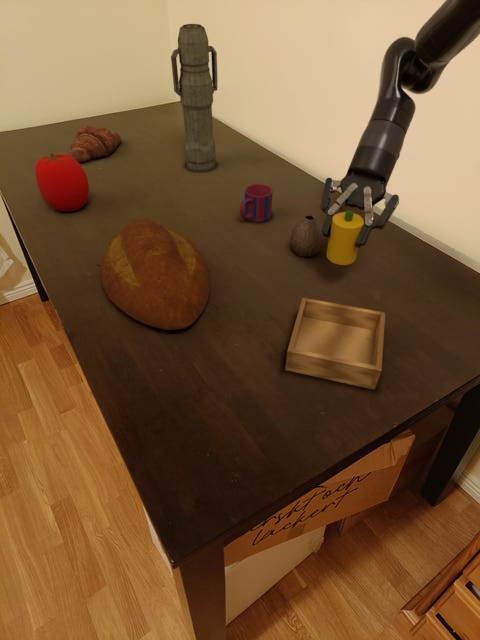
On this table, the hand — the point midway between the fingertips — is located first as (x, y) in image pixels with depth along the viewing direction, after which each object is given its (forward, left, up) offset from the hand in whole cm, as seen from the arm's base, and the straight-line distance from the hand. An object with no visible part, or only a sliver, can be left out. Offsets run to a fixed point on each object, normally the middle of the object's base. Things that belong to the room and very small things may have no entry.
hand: (341, 241), depth 78 cm
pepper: (0, -2, -4) cm, 5 cm away
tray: (-2, +16, -12) cm, 20 cm away
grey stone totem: (+46, -48, -12) cm, 67 cm away
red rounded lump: (+70, -15, -12) cm, 72 cm away
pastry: (+81, -48, -12) cm, 94 cm away
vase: (+8, -12, -12) cm, 18 cm away
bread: (+35, +8, -12) cm, 37 cm away
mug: (+23, -23, -12) cm, 34 cm away
